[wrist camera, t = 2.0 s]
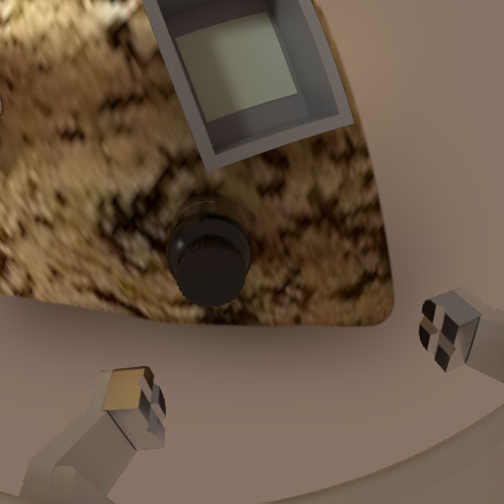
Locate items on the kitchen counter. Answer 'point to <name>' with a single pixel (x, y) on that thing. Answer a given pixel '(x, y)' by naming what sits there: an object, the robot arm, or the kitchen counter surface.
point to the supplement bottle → (209, 250)
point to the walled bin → (249, 73)
